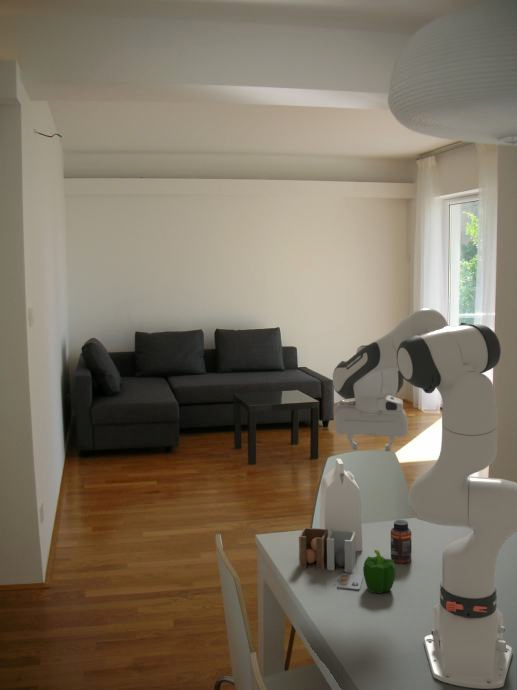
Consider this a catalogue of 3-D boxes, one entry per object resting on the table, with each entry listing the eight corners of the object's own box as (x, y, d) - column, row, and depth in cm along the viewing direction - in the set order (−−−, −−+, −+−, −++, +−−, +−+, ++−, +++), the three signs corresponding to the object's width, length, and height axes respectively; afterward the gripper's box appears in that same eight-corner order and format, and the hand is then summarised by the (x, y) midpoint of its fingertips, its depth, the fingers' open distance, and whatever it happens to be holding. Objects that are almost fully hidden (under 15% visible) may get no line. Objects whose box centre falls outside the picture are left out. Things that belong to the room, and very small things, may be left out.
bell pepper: (394, 598, 181) (394, 560, 179) (362, 595, 183) (361, 558, 181) (396, 583, 189) (396, 547, 188) (365, 581, 191) (365, 545, 190)
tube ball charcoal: (347, 569, 198) (347, 555, 197) (333, 568, 199) (333, 554, 199) (349, 563, 202) (349, 550, 201) (335, 562, 203) (335, 549, 202)
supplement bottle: (415, 559, 204) (415, 521, 202) (404, 566, 199) (404, 527, 198) (397, 553, 208) (397, 516, 207) (386, 560, 204) (386, 522, 202)
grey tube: (352, 572, 196) (351, 541, 195) (327, 569, 198) (326, 539, 197) (355, 562, 203) (355, 531, 202) (331, 559, 205) (331, 529, 204)
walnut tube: (323, 569, 198) (323, 538, 197) (299, 567, 200) (298, 536, 199) (328, 559, 205) (327, 529, 204) (304, 557, 207) (304, 527, 206)
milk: (319, 536, 222) (318, 456, 219) (355, 535, 223) (355, 455, 220) (324, 552, 210) (323, 467, 207) (362, 550, 211) (362, 466, 208)
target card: (359, 590, 185) (359, 588, 185) (336, 588, 187) (336, 586, 187) (363, 577, 193) (363, 575, 193) (341, 575, 194) (341, 573, 194)
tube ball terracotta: (318, 561, 200) (311, 549, 201) (306, 567, 201) (299, 554, 202) (321, 557, 204) (314, 544, 204) (309, 562, 205) (302, 550, 205)
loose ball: (310, 552, 201) (324, 552, 200) (310, 537, 201) (324, 537, 201) (311, 550, 205) (325, 551, 204) (311, 536, 205) (325, 536, 205)
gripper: (332, 402, 197) (332, 451, 198) (406, 405, 191) (406, 454, 192) (336, 398, 203) (336, 445, 204) (408, 400, 197) (408, 448, 198)
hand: (371, 450), depth 198 cm, fingers open, 8 cm apart
